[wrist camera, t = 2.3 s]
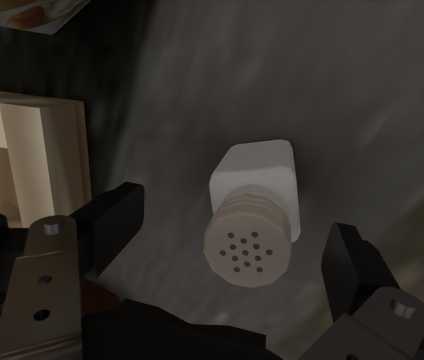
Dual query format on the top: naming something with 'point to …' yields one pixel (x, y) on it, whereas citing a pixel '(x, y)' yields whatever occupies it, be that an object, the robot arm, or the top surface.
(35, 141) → the birch holder
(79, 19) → the top surface
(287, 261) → the pepper shaker
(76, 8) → the coffee box
